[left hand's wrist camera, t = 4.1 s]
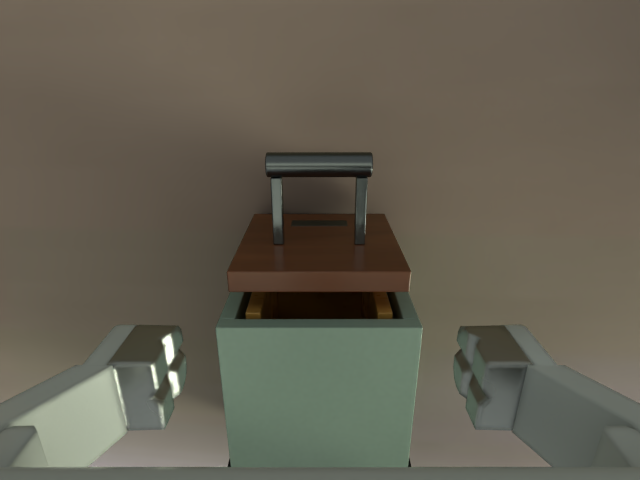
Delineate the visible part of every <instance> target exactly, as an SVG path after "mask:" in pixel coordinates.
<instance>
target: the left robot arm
mask: <svg viewBox="0 0 640 480" xmlns="http://www.w3.org/2000/svg"><path fill="white" fill-rule="evenodd" d="M182 342H183V337H182V332H181V329H180V327H179V326H169V325H117V326H115V327H114V328H113V329H112V330H111V331H110V332H109V334H108V335H107V336H106V337H105V338H104V340H103V341H102V342H101V343H100V344H99V346H98V347H97V348H96V349H95V350H94V352H93V353H92V354H91V355H90V357H89V358H88V359H87V360H86V361H85V363H84V364H83V365H75V366H73V367H71V368H69V369H67V370H65V371H63V372H62V373H60V374H58V375H56V376H54V377H52V378H50V379H48V380H46V381H44V382H42V383H40V384H38V385H36V386H34V387H32V388H30V389H28V390H26V391H24V392H22V393H20V394H18V395H16V396H14V397H12V398H10V399H8V400H6V401H4V402H2V403H0V480H640V404H639V403H637V402H635V401H633V400H631V399H630V398H628V397H626V396H624V395H622V394H620V393H618V392H616V391H614V390H612V389H610V388H608V387H606V386H604V385H602V384H600V383H598V382H596V381H594V380H592V379H590V378H588V377H586V376H584V375H582V374H580V373H578V372H576V371H574V370H572V369H571V368H569V367H567V366H565V365H557V364H556V363H555V361H554V360H553V359H552V358H551V357H550V355H549V354H548V353H547V352H546V351H545V349H544V348H543V347H542V346H541V345H540V343H539V342H538V341H537V340H536V339H535V337H534V336H533V335H532V334H531V333H530V331H529V330H528V329H527V328H526V327H525V326H523V325H499V326H461V327H460V329H459V331H458V337H457V342H458V344H459V346H460V348H461V349H460V350H459V351H458V352H457V354H456V355H455V357H454V366H453V368H454V379H455V383H456V387H457V389H458V391H459V394H461V395H462V396H463V397H465V398H466V399H467V402H466V410H467V412H468V414H469V416H470V419H471V421H472V423H473V425H474V428H475V429H477V430H513V433H514V434H515V435H516V436H517V437H519V438H520V439H521V440H522V441H523V442H524V443H525V444H527V445H528V446H529V447H530V448H531V449H532V450H534V451H535V452H536V453H537V454H538V455H539V456H540V457H542V458H543V459H544V460H545V461H546V462H547V463H549V464H550V465H551V466H552V467H88V466H89V465H90V464H92V463H93V462H94V461H95V460H96V459H97V458H98V457H100V456H101V455H102V454H103V453H104V452H105V451H107V450H108V449H109V448H110V447H111V446H112V445H113V444H115V443H116V442H117V441H118V440H119V439H120V438H122V437H123V436H124V435H125V434H126V433H127V430H162V429H165V428H166V425H167V423H168V421H169V419H170V416H171V414H172V412H173V410H174V402H173V399H174V398H175V397H177V396H178V395H179V394H181V391H182V389H183V386H184V383H185V377H186V357H185V355H184V354H183V353H182V351H181V350H180V349H179V348H180V346H181V344H182Z"/></svg>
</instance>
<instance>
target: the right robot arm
mask: <svg viewBox="0 0 640 480" xmlns="http://www.w3.org/2000/svg"><path fill="white" fill-rule="evenodd" d="M228 467H231V464H230V459H229V464H228ZM408 467H411V464H410V459H409V461H408Z"/></svg>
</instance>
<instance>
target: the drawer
mask: <svg viewBox="0 0 640 480" xmlns="http://www.w3.org/2000/svg"><path fill="white" fill-rule="evenodd" d="M265 169H266V175H267V177H271V200H272V214H254V216H253V218H252V220H251V222H250V224H249V227H248V229H247V231H246V233H245V235H244V237H243V239H242V241H241V243H240V245H239V248H238V250H237V252H236V254H235V256H234V258H233V260H232V262H231V264H230V266H229V269H228V271H227V279H228V290H229V292H252V294H251V298H250V301H249V304H248V307H247V310H246V319H392V316H393V313H392V309H391V306H390V303H389V300H388V296H387V293H386V292H409V291H410V281H411V270H410V268H409V266H408V264H407V262H406V260H405V257H404V255H403V253H402V251H401V249H400V247H399V245H398V242H397V240H396V238H395V236H394V234H393V232H392V229H391V227H390V225H389V223H388V221H387V219H386V217H385V214H366V206H367V183H368V178H367V177H371V175H372V170H373V156H372V153H371V152H267V153H266V157H265ZM282 177H356V191H355V214H284V213H283V185H282Z"/></svg>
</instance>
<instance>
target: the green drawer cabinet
mask: <svg viewBox="0 0 640 480" xmlns="http://www.w3.org/2000/svg"><path fill="white" fill-rule="evenodd" d="M386 293H387V296H388V300H389V303H390V306H391V309H392V313H393V316H392V319H246V310H247V307H248V304H249V301H250V298H251V294H252V292H230V294H229V297H228V299H227V302H226V304H225V307H224V309H223V311H222V314H221V316H220V319H219V321H218V323H217V326H216V337H217V346H218V355H219V364H220V373H221V382H222V391H223V401H224V410H225V419H226V428H227V437H228V446H229V455H230V464H231V467H408V461H409V452H410V442H411V433H412V424H413V414H414V405H415V396H416V386H417V377H418V367H419V358H420V349H421V339H422V330H423V327H422V325H421V323H420V320H419V318H418V316H417V313H416V311H415V308H414V306H413V303H412V301H411V298H410V296H409V293H408V292H386Z"/></svg>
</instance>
